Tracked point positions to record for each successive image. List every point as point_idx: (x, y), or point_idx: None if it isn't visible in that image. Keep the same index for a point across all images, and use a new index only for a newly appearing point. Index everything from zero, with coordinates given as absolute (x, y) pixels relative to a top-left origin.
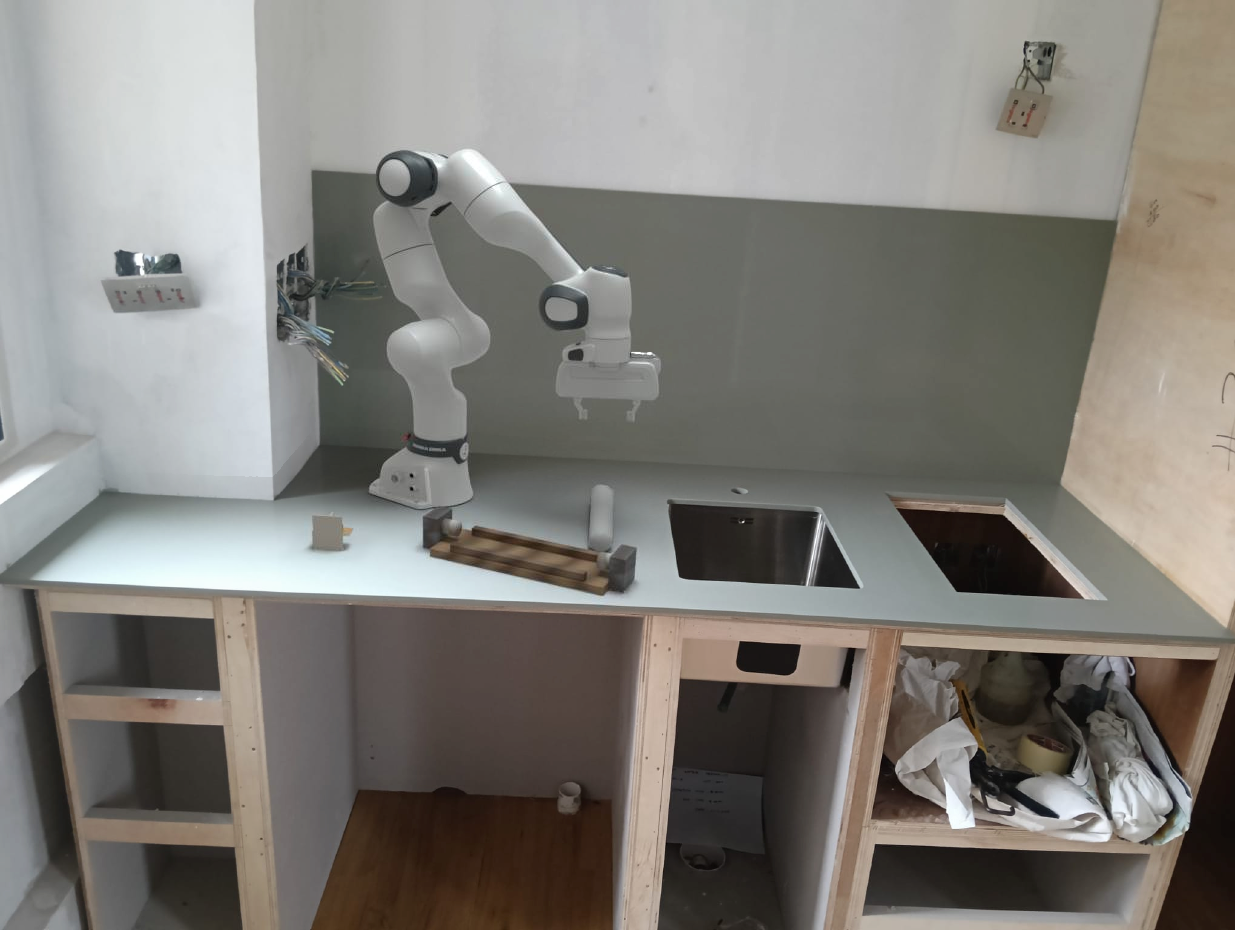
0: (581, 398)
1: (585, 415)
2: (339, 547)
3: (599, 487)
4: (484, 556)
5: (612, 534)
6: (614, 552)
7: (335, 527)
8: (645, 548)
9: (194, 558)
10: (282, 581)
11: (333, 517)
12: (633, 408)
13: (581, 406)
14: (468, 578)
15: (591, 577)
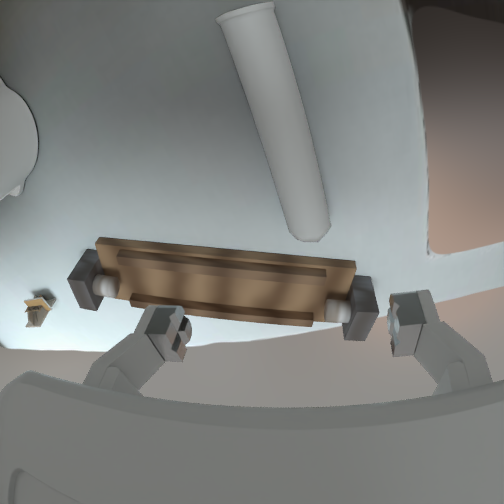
0: (123, 388)
1: (184, 346)
2: (52, 301)
3: (237, 21)
4: None
5: (329, 220)
6: (349, 330)
7: (41, 317)
8: (381, 182)
9: (17, 325)
10: (74, 343)
11: (36, 325)
12: (432, 364)
13: (138, 352)
14: None
15: (318, 309)
